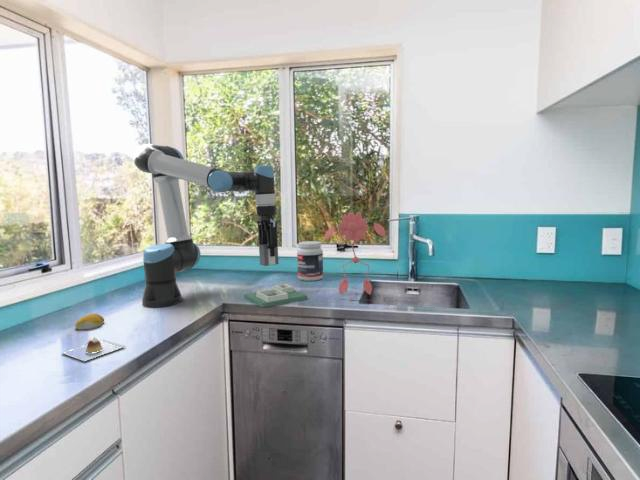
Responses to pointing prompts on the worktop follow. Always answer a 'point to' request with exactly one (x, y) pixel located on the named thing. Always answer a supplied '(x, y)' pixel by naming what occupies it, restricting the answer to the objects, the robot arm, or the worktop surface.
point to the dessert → (95, 347)
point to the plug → (266, 255)
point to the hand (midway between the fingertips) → (269, 263)
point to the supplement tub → (310, 261)
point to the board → (275, 296)
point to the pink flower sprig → (354, 231)
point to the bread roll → (89, 322)
